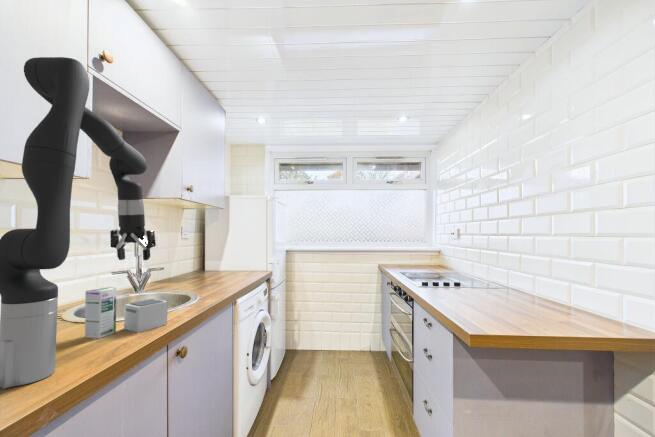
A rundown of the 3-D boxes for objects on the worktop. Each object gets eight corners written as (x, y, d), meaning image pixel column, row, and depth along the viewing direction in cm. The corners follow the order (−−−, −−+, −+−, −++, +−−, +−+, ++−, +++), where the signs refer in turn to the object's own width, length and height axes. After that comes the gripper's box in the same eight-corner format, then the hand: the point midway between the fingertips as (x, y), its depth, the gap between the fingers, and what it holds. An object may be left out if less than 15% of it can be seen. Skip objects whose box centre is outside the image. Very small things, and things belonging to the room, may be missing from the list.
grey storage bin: (137, 332, 98) (137, 306, 98) (123, 328, 102) (124, 303, 102) (167, 324, 107) (168, 300, 107) (154, 320, 111) (154, 297, 111)
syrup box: (99, 338, 92) (101, 290, 93) (83, 337, 93) (85, 289, 94) (116, 332, 98) (117, 287, 98) (100, 331, 99) (102, 286, 100)
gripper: (102, 213, 100) (105, 262, 102) (145, 214, 100) (147, 262, 101) (118, 212, 108) (121, 257, 109) (158, 212, 107) (160, 257, 109)
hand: (134, 259), depth 105 cm, fingers open, 8 cm apart
